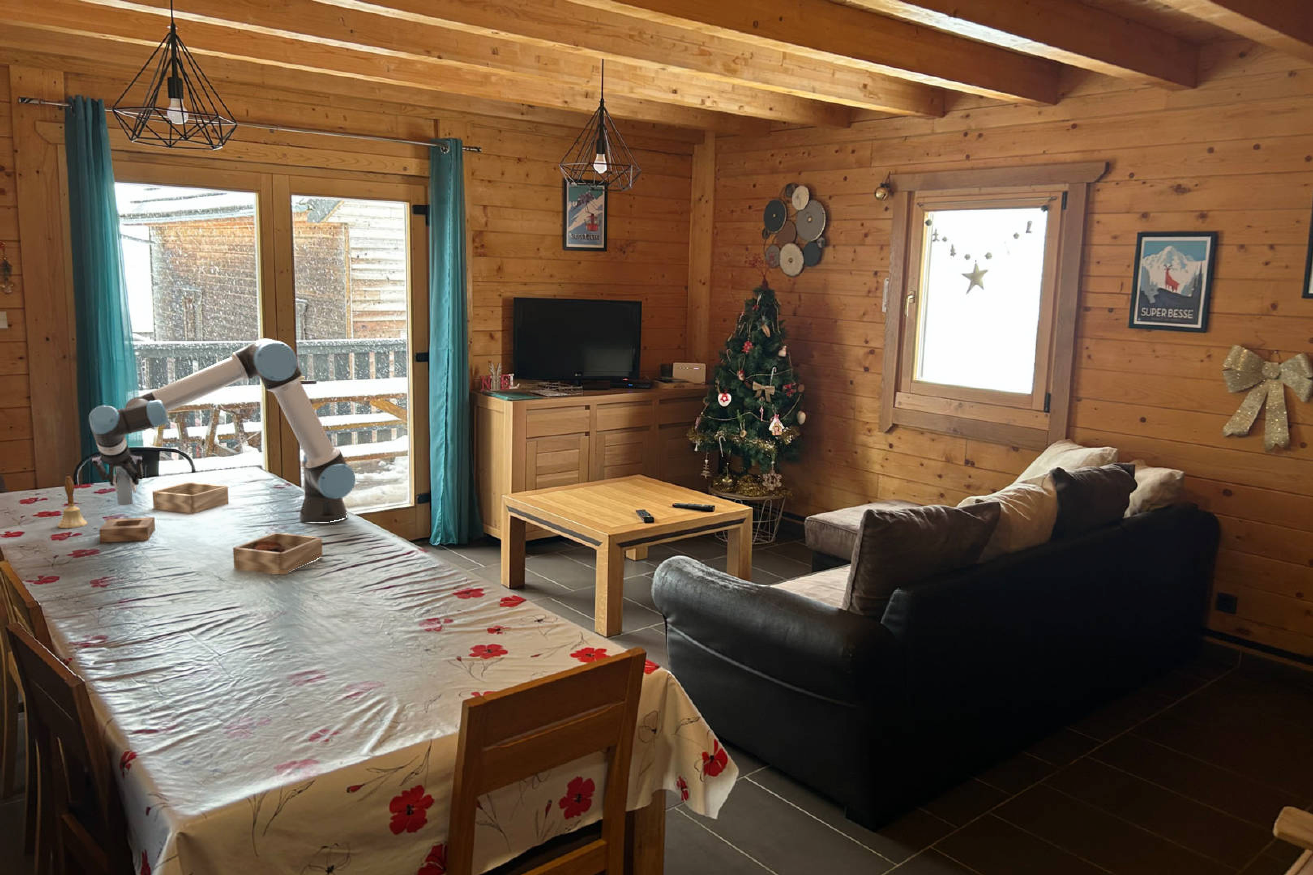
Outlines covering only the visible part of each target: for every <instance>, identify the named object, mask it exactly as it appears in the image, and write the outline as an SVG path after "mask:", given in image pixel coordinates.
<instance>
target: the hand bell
mask: <svg viewBox="0 0 1313 875" xmlns="http://www.w3.org/2000/svg"><path fill="white" fill-rule="evenodd" d="M64 491H65V493H66V495H67V507H66V508H64V509H63V511H62V512H63V513H62V514H63V515H62V518H61V521H60V522H59V523H58V524H57V527H58V528H60V529H75V528H81V527H85V526H87V525H88V524H89V523H88V521H87V520H85V519H84V517H83V516H82V514H81V510H80V507H77V506H76V505H75V501H74V492H75V483H74V481H73V479H72V476H70V475H68V476H65V480H64Z"/></svg>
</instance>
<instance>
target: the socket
mask: <svg viewBox="0 0 1313 875" xmlns="http://www.w3.org/2000/svg"><path fill="white" fill-rule="evenodd" d="M155 531H156V522H155V516H152V517H151V516H150V517H147V516H146V517H130V518H108V519H107V520H106V521H105V522H104V524H103V525H102V526H101V527H100V528H99V531H98V532H99V533H98V534H99V543H113V542H114V543H117V542H134V541H149V540H150V537H152V536H153V533H154V532H155Z"/></svg>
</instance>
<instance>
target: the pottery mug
mask: <svg viewBox="0 0 1313 875" xmlns="http://www.w3.org/2000/svg"><path fill="white" fill-rule="evenodd" d="M253 545H254V547H253V548H252V549H254V550H263V551H271V552H280V553H282V552H284V551H286V550H285V549H284V548H282V547H281V544H280V543H278V542H273V541H260V542H255V543H254V544H253Z"/></svg>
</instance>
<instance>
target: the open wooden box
mask: <svg viewBox="0 0 1313 875" xmlns="http://www.w3.org/2000/svg"><path fill="white" fill-rule="evenodd" d="M260 541H273V542H278V543H280V544H281V547H282V548H284V549H285V550H286V551H284V552H282V553H280V552H271V551H263V550H254V549H252V548H253V547H254V545H253V544H254V543H255V542H260ZM232 554H233V569H235V570H236V569H237V571H243V570H246V571H245V572H251V571H253V573H259V572H261V574H267V573H269V575H275V574H280V575H282V574H285V575H287V574H289V573H288V572H289V571H291V570H293V569H296V568H298V567H300V566H302V565H305V564H307V563H309V562H311V561H314V560H316V559H317V558H319V557H321V556H322V557H323V538H322V537H319V536H311V535H304V534H302V535H301V534H293V533H286V532H284V533H283V532H272V533H269V534H267V535H264V536H261V537H259V538H256V539H254V540H251V541H248V542H245V543H242V544H240V545H236V546H234V547H233V551H232ZM286 573H287V574H286Z"/></svg>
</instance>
